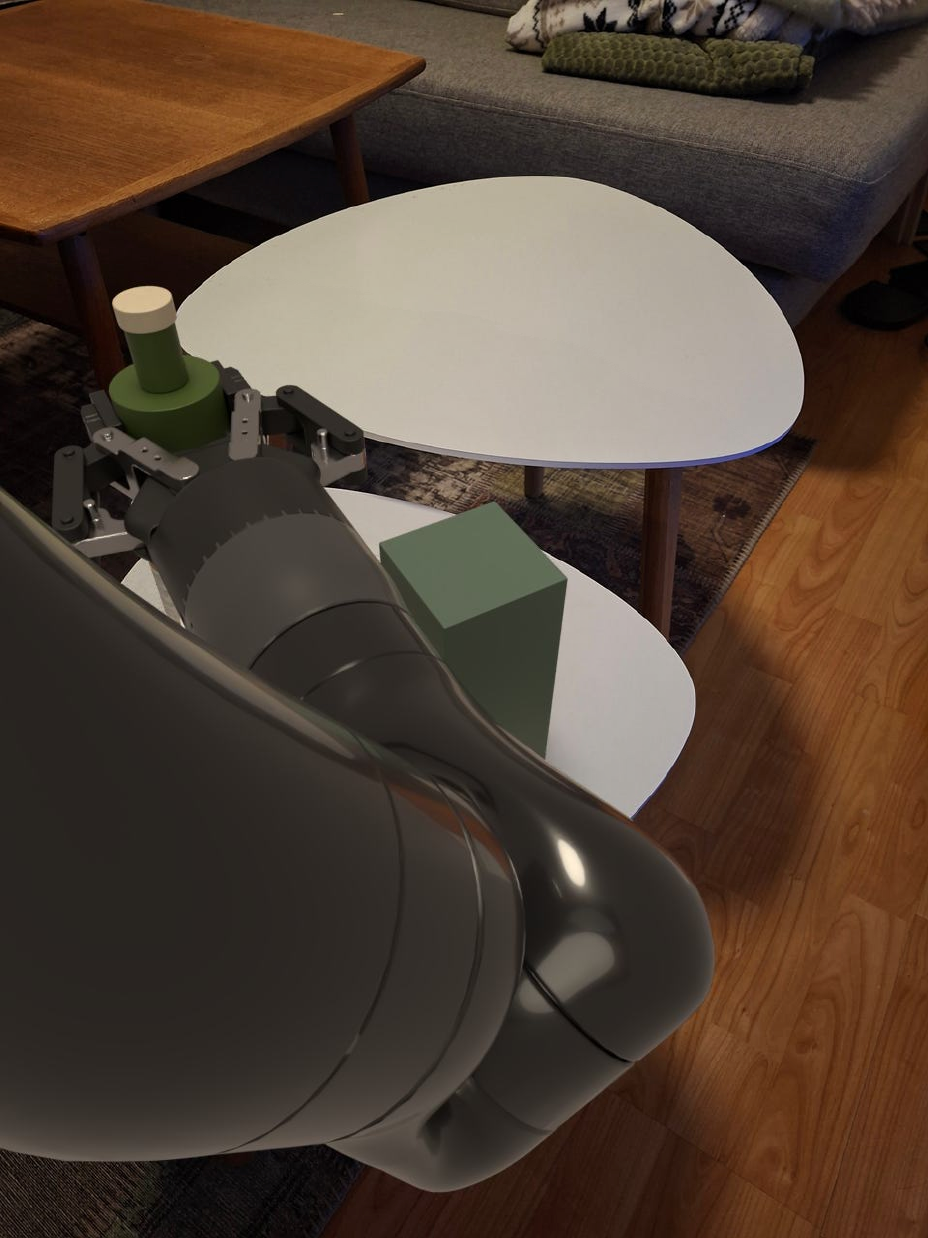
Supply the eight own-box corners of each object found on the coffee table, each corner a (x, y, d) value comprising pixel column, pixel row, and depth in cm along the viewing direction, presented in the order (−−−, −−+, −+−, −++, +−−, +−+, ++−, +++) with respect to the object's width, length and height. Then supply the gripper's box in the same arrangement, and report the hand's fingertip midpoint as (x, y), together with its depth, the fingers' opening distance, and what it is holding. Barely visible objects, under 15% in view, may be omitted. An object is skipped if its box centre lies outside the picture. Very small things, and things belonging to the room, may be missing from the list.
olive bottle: (173, 574, 45) (97, 337, 36) (146, 519, 48) (69, 288, 39) (266, 542, 47) (216, 308, 37) (234, 491, 50) (181, 264, 40)
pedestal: (447, 835, 59) (444, 628, 44) (396, 754, 63) (378, 542, 49) (541, 788, 61) (568, 577, 47) (486, 713, 66) (494, 500, 51)
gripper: (449, 463, 33) (282, 287, 44) (60, 595, 28) (-25, 360, 39) (451, 604, 39) (302, 417, 49) (124, 735, 34) (35, 497, 44)
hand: (158, 393), depth 44 cm, fingers closed on olive bottle, 5 cm apart
